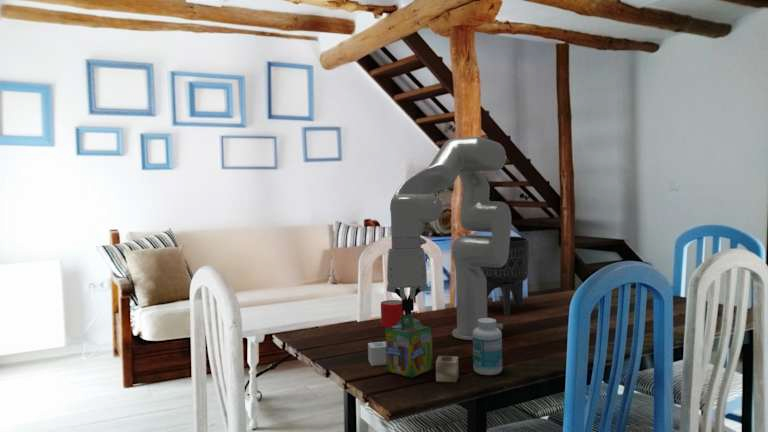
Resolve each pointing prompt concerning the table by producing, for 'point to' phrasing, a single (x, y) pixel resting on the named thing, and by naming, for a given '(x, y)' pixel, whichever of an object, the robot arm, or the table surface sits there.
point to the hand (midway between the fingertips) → (407, 313)
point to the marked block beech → (447, 369)
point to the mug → (391, 312)
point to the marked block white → (377, 353)
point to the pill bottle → (487, 347)
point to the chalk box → (408, 348)
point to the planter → (510, 273)
